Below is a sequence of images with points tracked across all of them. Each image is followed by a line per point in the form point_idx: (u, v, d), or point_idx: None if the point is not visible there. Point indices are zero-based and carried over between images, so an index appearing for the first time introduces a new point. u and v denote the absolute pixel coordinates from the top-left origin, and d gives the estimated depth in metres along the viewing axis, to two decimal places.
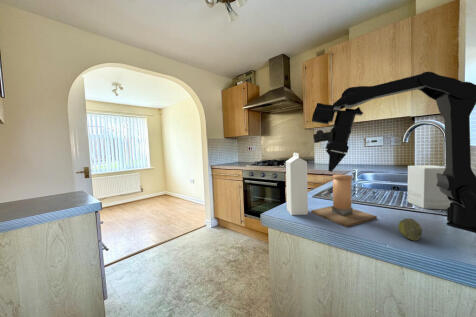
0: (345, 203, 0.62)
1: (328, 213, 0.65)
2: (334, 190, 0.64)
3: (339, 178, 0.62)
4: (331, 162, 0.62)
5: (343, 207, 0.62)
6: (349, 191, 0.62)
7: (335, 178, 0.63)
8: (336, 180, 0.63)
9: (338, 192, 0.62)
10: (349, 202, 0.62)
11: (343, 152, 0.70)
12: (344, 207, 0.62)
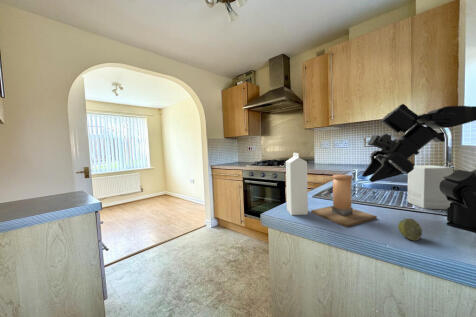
0: (345, 203, 0.62)
1: (328, 213, 0.65)
2: (334, 190, 0.64)
3: (339, 178, 0.62)
4: (379, 173, 0.55)
5: (343, 207, 0.62)
6: (349, 191, 0.62)
7: (335, 178, 0.63)
8: (336, 180, 0.63)
9: (338, 192, 0.62)
10: (349, 202, 0.62)
11: None
12: (344, 207, 0.62)
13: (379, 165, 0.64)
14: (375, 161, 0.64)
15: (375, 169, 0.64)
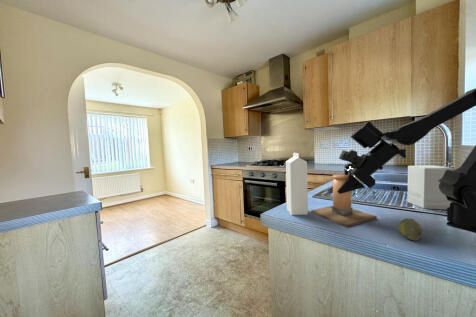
0: (345, 203, 0.62)
1: (328, 213, 0.65)
2: (334, 190, 0.64)
3: (339, 178, 0.62)
4: (345, 185, 0.60)
5: (343, 207, 0.62)
6: (349, 191, 0.62)
7: (335, 178, 0.63)
8: (336, 180, 0.63)
9: None
10: (349, 202, 0.62)
11: None
12: (344, 207, 0.62)
13: None
14: (348, 174, 0.66)
15: None
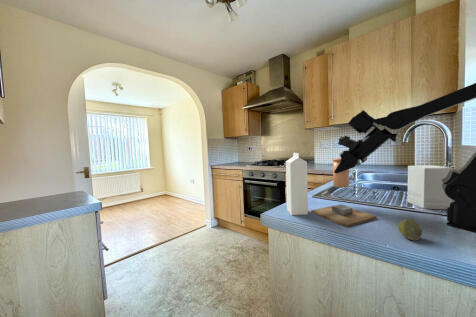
0: (341, 182, 0.72)
1: (328, 213, 0.65)
2: (333, 171, 0.75)
3: (335, 160, 0.72)
4: (339, 166, 0.70)
5: (339, 185, 0.72)
6: (345, 171, 0.71)
7: (333, 160, 0.74)
8: (334, 162, 0.74)
9: None
10: (345, 181, 0.71)
11: (358, 164, 0.73)
12: (340, 185, 0.72)
13: None
14: None
15: None
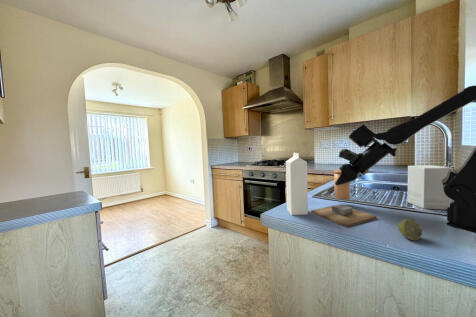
0: (341, 193, 0.73)
1: (328, 213, 0.65)
2: (334, 182, 0.76)
3: (336, 172, 0.74)
4: (340, 178, 0.72)
5: (340, 197, 0.74)
6: (345, 184, 0.73)
7: (334, 172, 0.75)
8: (335, 174, 0.75)
9: None
10: (345, 193, 0.73)
11: (359, 176, 0.74)
12: (340, 197, 0.73)
13: None
14: None
15: None
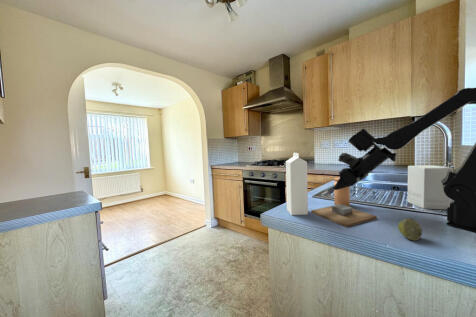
0: (341, 201, 0.73)
1: (328, 213, 0.65)
2: (334, 190, 0.76)
3: (336, 180, 0.74)
4: (338, 183, 0.71)
5: (339, 204, 0.74)
6: (345, 191, 0.73)
7: (334, 180, 0.75)
8: (335, 181, 0.75)
9: (336, 192, 0.75)
10: (345, 201, 0.73)
11: (360, 179, 0.75)
12: None
13: None
14: None
15: None
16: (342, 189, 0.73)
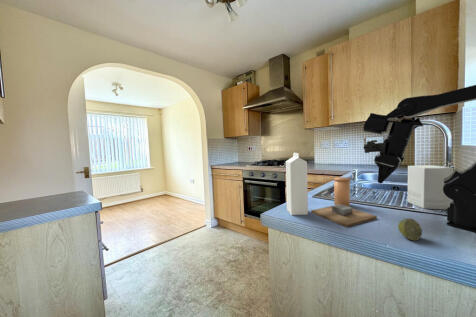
0: (341, 201, 0.73)
1: (328, 213, 0.65)
2: (334, 190, 0.76)
3: (336, 180, 0.74)
4: (380, 173, 0.62)
5: (339, 204, 0.74)
6: (345, 191, 0.73)
7: (334, 180, 0.75)
8: (335, 181, 0.75)
9: (336, 192, 0.75)
10: (345, 201, 0.73)
11: (400, 163, 0.67)
12: None
13: None
14: None
15: None
16: (342, 189, 0.73)
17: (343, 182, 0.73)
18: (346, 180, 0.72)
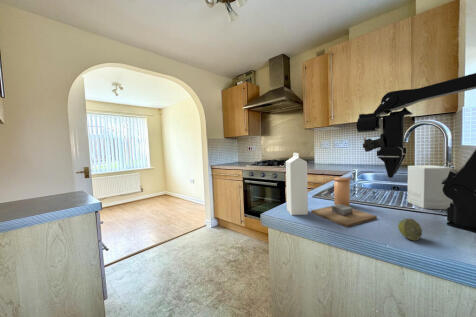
0: (341, 201, 0.73)
1: (328, 213, 0.65)
2: (334, 190, 0.76)
3: (336, 180, 0.74)
4: (388, 167, 0.61)
5: (339, 204, 0.74)
6: (345, 191, 0.73)
7: (334, 180, 0.75)
8: (335, 181, 0.75)
9: (336, 192, 0.75)
10: (345, 201, 0.73)
11: (404, 155, 0.66)
12: None
13: None
14: None
15: None
16: (342, 189, 0.73)
17: (343, 182, 0.73)
18: (346, 180, 0.72)
